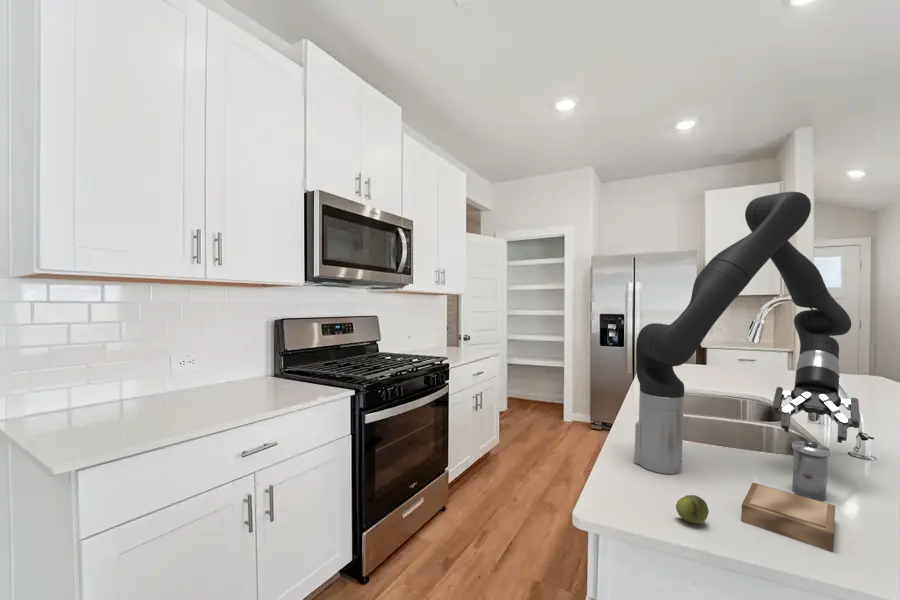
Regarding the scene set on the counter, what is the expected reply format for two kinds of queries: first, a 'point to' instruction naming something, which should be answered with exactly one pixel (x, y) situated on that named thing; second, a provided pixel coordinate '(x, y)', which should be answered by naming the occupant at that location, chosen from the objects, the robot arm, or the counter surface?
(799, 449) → the grey lidded canister
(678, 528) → the counter surface
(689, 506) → the lime
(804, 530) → the stand
